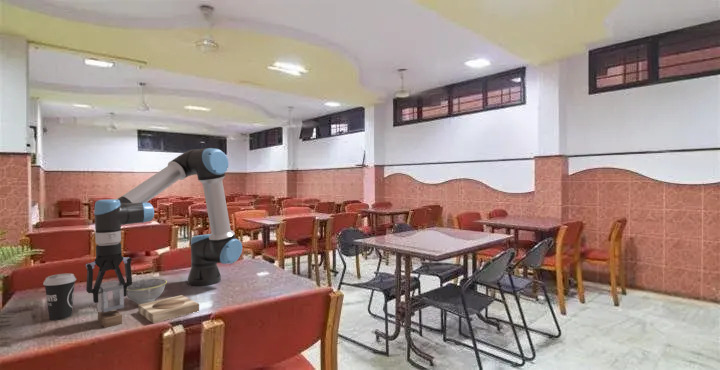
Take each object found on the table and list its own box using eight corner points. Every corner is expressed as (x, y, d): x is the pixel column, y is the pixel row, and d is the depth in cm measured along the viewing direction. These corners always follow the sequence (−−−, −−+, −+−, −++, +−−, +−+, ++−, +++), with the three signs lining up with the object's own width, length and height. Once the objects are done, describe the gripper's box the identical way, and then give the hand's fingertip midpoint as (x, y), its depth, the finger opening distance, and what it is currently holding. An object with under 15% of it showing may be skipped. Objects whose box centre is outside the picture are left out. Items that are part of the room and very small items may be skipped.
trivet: (138, 312, 143) (138, 304, 143) (182, 302, 155) (182, 294, 155) (153, 323, 132) (153, 314, 132) (199, 311, 144) (199, 303, 144)
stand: (97, 320, 136) (97, 311, 136) (114, 316, 139) (113, 308, 139) (105, 327, 129) (105, 319, 129) (122, 323, 133) (121, 315, 132)
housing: (97, 306, 135) (96, 283, 135) (116, 301, 140) (116, 280, 139) (103, 312, 129) (103, 288, 129) (124, 307, 133) (123, 285, 133)
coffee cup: (56, 312, 144) (55, 273, 143) (82, 311, 144) (82, 272, 144) (36, 322, 134) (36, 279, 134) (65, 321, 135) (64, 279, 135)
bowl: (135, 311, 145) (135, 291, 145) (114, 304, 154) (114, 285, 153) (175, 299, 159) (174, 281, 159) (153, 293, 167) (153, 276, 167)
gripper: (77, 248, 124) (80, 319, 125) (142, 241, 138) (143, 304, 139) (73, 246, 129) (75, 313, 130) (135, 238, 143) (137, 299, 144)
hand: (110, 308), depth 134 cm, fingers closed on housing, 6 cm apart
